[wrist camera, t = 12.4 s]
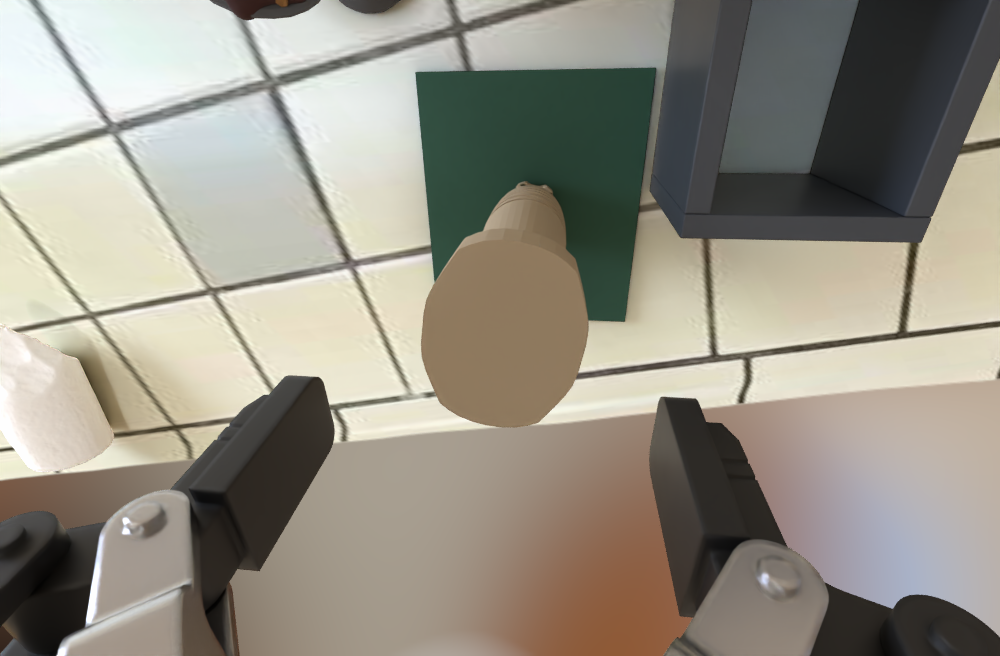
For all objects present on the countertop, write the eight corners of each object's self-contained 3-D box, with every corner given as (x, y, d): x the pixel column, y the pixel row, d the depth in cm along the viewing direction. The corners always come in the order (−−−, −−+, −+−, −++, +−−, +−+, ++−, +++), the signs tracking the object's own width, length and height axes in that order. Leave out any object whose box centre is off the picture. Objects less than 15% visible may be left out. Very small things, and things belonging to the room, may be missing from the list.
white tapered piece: (79, 302, 35) (0, 342, 30) (131, 429, 41) (72, 479, 36) (2, 293, 35) (-88, 331, 30) (65, 420, 41) (-2, 469, 36)
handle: (586, 157, 26) (611, 259, 13) (560, 267, 29) (558, 439, 16) (498, 141, 26) (430, 224, 13) (482, 253, 29) (415, 410, 16)
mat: (416, 72, 25) (415, 72, 25) (655, 67, 24) (656, 67, 23) (438, 312, 32) (437, 314, 31) (624, 319, 30) (624, 321, 30)
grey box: (679, -34, 22) (734, -79, 15) (896, -43, 21) (1066, -95, 14) (649, 191, 26) (680, 238, 19) (823, 193, 25) (921, 243, 18)
